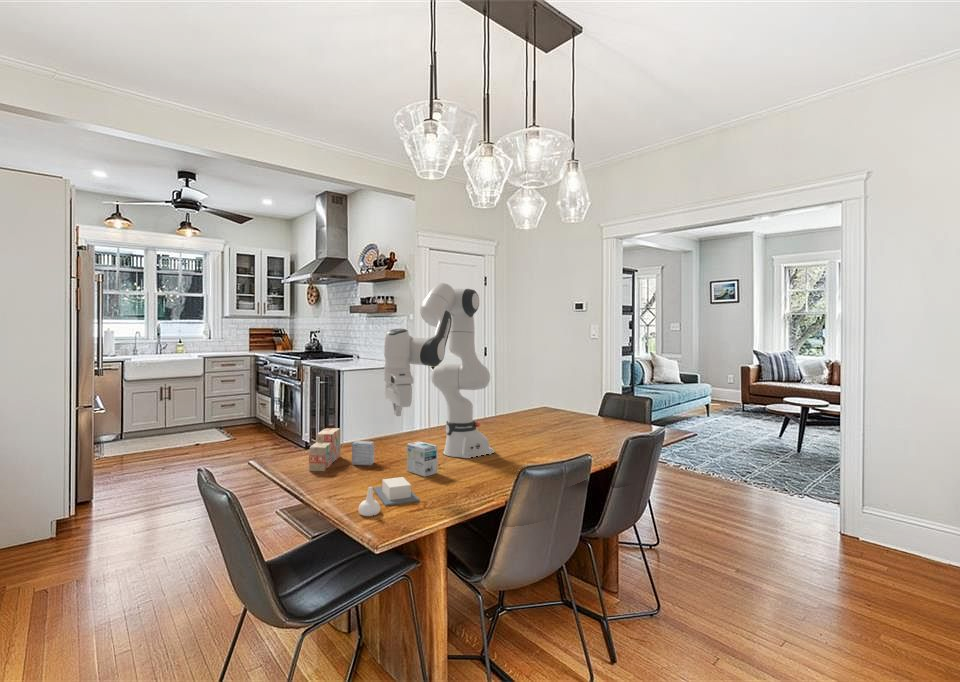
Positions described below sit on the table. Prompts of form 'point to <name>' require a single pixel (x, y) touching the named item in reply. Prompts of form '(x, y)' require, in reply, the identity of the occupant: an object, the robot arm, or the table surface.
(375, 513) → the garlic bulb
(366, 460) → the medicine box
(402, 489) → the cream block
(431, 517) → the table surface
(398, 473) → the table surface
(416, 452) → the light bulb box
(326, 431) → the stack of blocks
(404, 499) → the rubber mat
